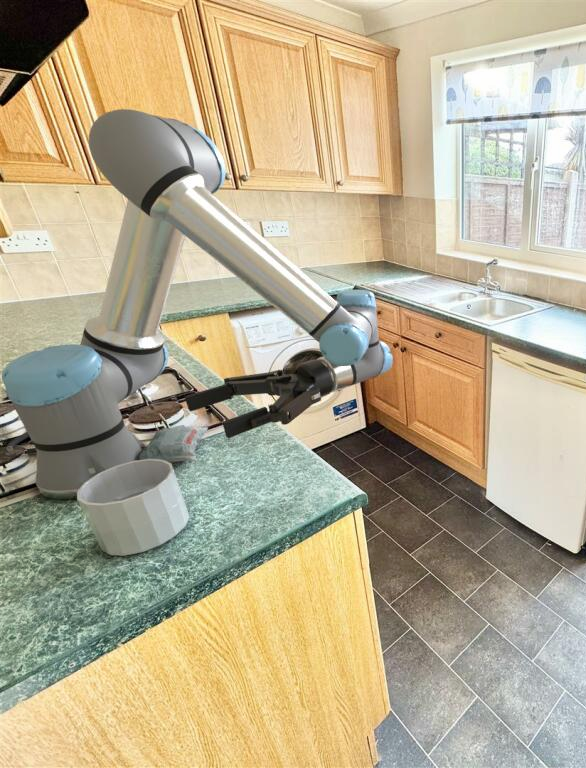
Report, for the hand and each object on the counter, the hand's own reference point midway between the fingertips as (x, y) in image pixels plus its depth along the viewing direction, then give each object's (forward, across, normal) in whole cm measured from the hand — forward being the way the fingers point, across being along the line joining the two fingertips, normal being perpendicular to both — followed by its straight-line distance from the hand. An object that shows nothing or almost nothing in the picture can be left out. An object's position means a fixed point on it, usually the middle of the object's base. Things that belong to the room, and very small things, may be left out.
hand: (205, 416), depth 68 cm
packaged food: (0, +20, -16) cm, 25 cm away
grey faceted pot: (+12, 0, -16) cm, 20 cm away
